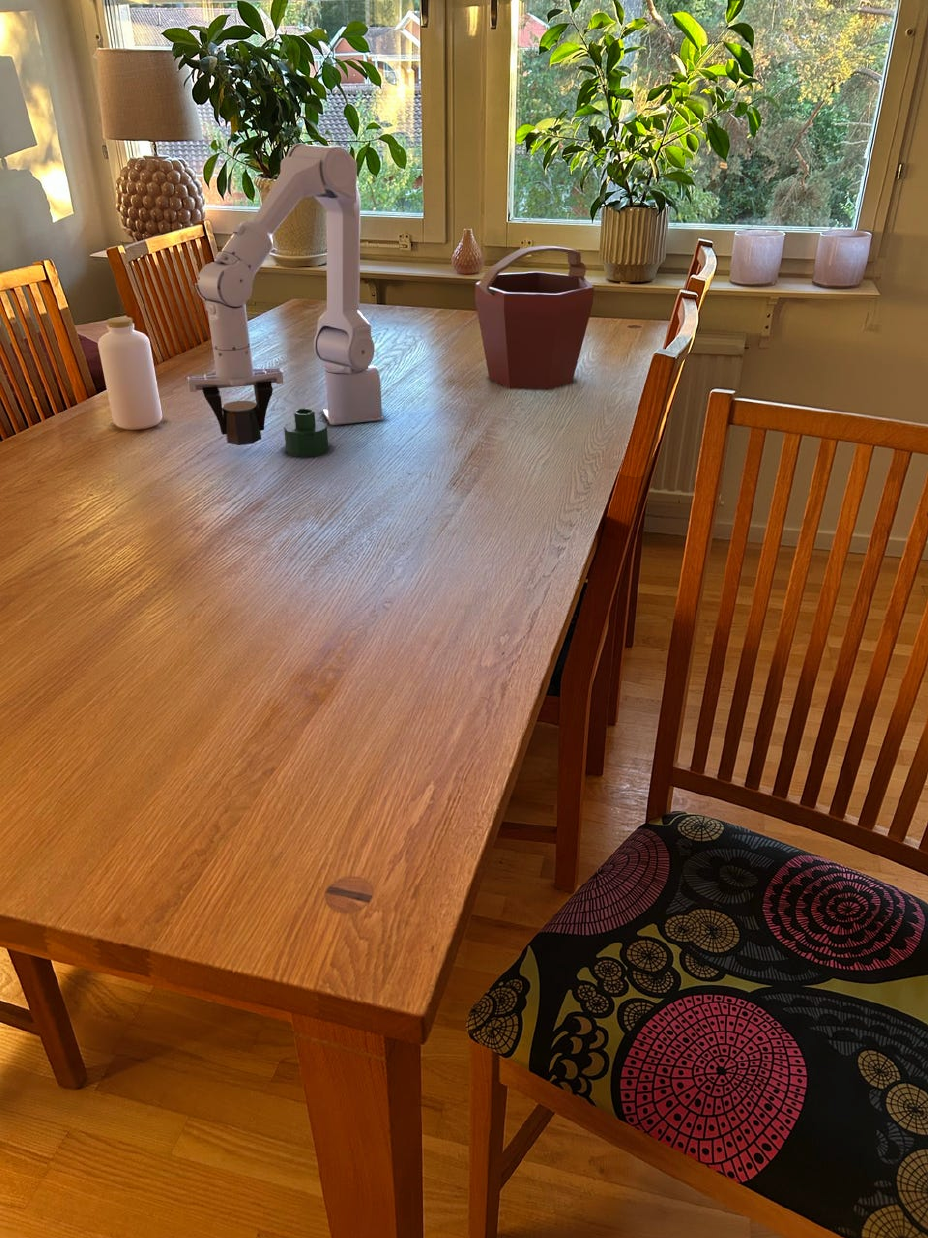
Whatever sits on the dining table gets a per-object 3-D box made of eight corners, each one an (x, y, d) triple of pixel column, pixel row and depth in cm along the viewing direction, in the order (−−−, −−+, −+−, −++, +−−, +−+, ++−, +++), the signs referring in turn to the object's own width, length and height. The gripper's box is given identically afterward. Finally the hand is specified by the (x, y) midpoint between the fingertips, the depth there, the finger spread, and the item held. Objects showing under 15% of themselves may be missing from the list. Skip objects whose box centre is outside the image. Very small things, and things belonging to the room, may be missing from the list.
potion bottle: (172, 418, 166) (155, 315, 156) (144, 434, 159) (124, 327, 150) (133, 414, 168) (114, 312, 159) (104, 428, 161) (82, 323, 152)
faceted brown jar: (258, 431, 153) (254, 399, 151) (262, 442, 149) (258, 409, 146) (225, 435, 152) (220, 402, 149) (228, 446, 148) (224, 412, 145)
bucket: (566, 358, 200) (574, 235, 187) (612, 388, 182) (623, 253, 169) (459, 368, 194) (459, 241, 181) (495, 400, 176) (498, 261, 163)
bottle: (323, 440, 157) (320, 403, 153) (332, 454, 151) (329, 415, 148) (283, 445, 155) (279, 407, 151) (290, 459, 149) (286, 420, 146)
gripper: (185, 356, 138) (198, 443, 145) (282, 348, 142) (291, 433, 149) (181, 344, 143) (194, 429, 150) (275, 337, 147) (284, 419, 154)
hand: (242, 430), depth 150 cm, fingers closed on faceted brown jar, 5 cm apart
